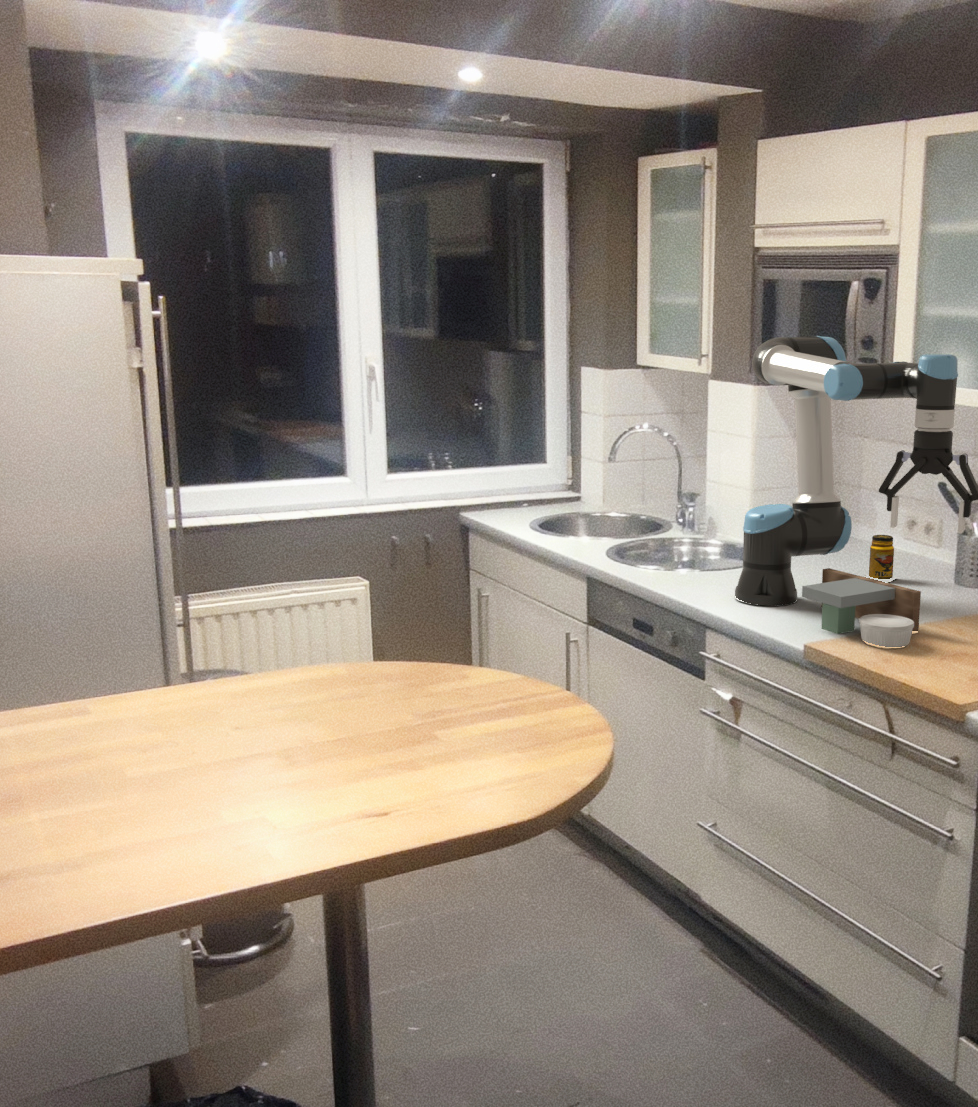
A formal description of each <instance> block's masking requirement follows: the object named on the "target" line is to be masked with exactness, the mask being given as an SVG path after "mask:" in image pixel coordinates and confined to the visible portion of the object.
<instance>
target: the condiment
mask: <svg viewBox="0 0 978 1107" xmlns="http://www.w3.org/2000/svg"><path fill="white" fill-rule="evenodd" d="M871 538H872V540H871V545H870V546H869V563H868V564H869V565H868V574H869V576H870V577H873V578H878V579H890V578H894V577H893V575H894V559H895V558H894V556H895V547H894V541H893V540H894V537H893V536H892V535H888V534H875V535H873V536H872V537H871Z"/></svg>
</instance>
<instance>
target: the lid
mask: <svg viewBox="0 0 978 1107" xmlns="http://www.w3.org/2000/svg"><path fill="white" fill-rule="evenodd" d="M801 597H802V598H805V599H809V600H812V601H815V602H817V603H820V604H821V603H824V604H828V605H831V606H835V607H838V608H845V607H851V606H857V605H863V604H869V603H875V602H881V601H887V600H893V599H895V588H892V587H888V586H885V585H881V584H877V583H873V582H869V581H865V580H861V579H857V578H852V579H845V580H839V581H832V582H826V583H822V582H821V583H815V584H807V585H802V588H801Z"/></svg>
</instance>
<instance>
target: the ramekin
mask: <svg viewBox="0 0 978 1107" xmlns="http://www.w3.org/2000/svg"><path fill="white" fill-rule="evenodd" d="M858 623H859V628H860V638H861V640H862V639H863V640H864V641H866V642H868V643H872V644H875V645H879V646H885V647H902V646H906V645H907V646H908V645H909V644H910V641H911V637H912V635H913V634H912V629H913V627H914V621H913V620H911V619H909V618H906V617H901V616H896V615H887V614H870V615H864V616H862V617H860V619H859V620H858ZM863 640H862V641H863ZM907 646H906V647H907Z"/></svg>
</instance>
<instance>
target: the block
mask: <svg viewBox="0 0 978 1107" xmlns="http://www.w3.org/2000/svg"><path fill="white" fill-rule="evenodd" d="M855 608H856V606H851V607H845V608H838V607H835V606H831V605H828V604H824V603H823V604H822V608H821V626H820V628H821V629H822V630H824V631H827V632H830V633H833V634H836V635H839V634H845V633H851V632H855V627H856V626H855V624H856V618H855Z"/></svg>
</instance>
